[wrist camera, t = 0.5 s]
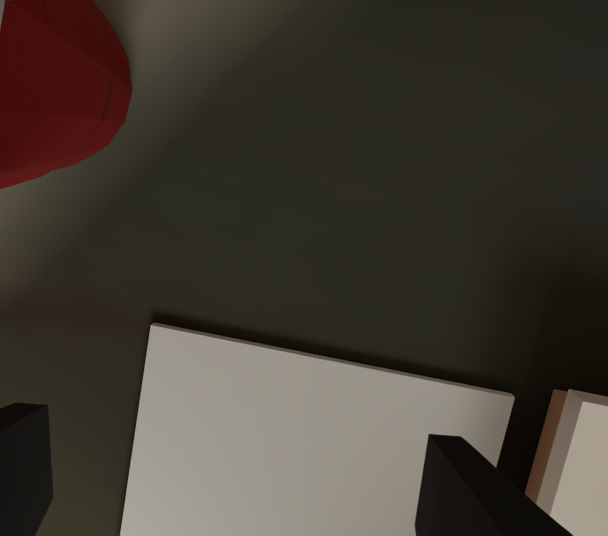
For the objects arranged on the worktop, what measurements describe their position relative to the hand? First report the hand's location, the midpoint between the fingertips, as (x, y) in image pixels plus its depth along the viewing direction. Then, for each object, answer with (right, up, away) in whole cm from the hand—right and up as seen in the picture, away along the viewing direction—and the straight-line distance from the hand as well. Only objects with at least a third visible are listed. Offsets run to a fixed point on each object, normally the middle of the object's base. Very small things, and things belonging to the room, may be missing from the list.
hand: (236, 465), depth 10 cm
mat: (+1, -7, +12) cm, 13 cm away
